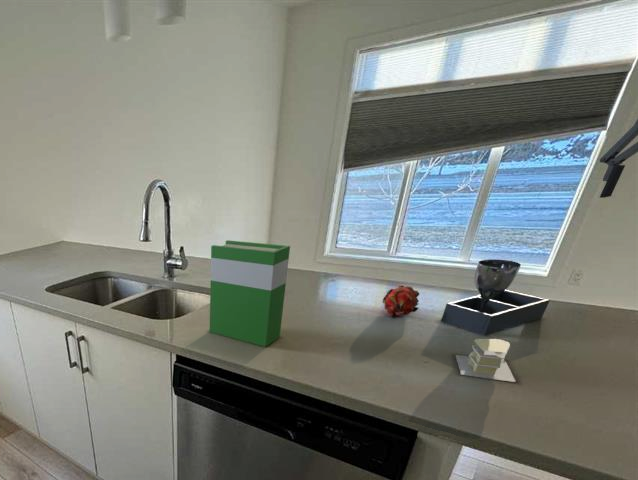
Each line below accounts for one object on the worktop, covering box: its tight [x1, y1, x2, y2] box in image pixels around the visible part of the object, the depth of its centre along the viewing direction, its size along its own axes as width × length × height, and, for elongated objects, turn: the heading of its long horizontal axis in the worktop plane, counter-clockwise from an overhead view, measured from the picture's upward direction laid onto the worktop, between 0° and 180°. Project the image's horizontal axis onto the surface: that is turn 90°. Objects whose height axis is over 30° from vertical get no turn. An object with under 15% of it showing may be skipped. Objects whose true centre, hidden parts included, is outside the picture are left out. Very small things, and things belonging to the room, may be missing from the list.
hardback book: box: [209, 239, 291, 348], centre depth 107 cm, size 18×7×24 cm, turn 44°
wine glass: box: [473, 258, 521, 312], centre depth 102 cm, size 8×8×15 cm
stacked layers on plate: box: [455, 338, 516, 383], centre depth 86 cm, size 10×9×6 cm
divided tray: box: [440, 289, 551, 336], centre depth 106 cm, size 11×21×5 cm, turn 110°
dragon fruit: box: [382, 285, 420, 317], centre depth 115 cm, size 8×8×12 cm
